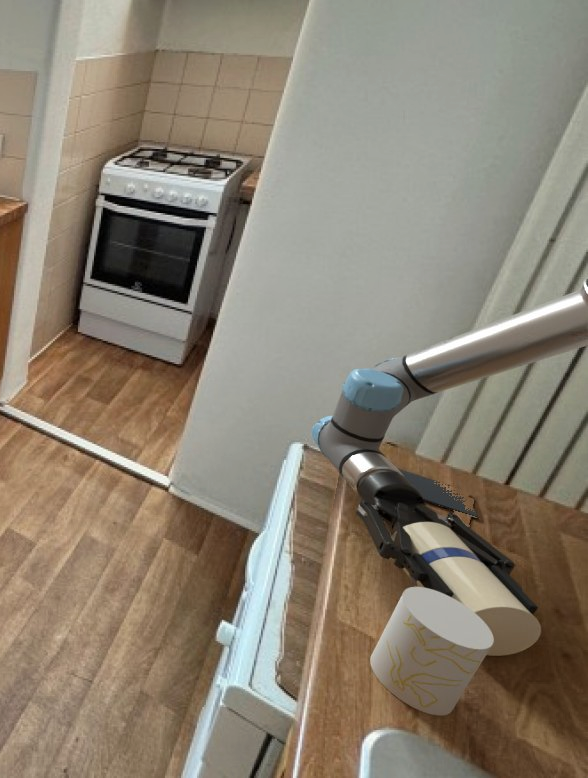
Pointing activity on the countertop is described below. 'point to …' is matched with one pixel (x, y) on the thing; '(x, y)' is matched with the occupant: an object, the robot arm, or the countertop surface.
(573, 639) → the countertop surface
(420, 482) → the mat
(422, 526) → the blue-striped cream cylinder
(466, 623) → the cup
